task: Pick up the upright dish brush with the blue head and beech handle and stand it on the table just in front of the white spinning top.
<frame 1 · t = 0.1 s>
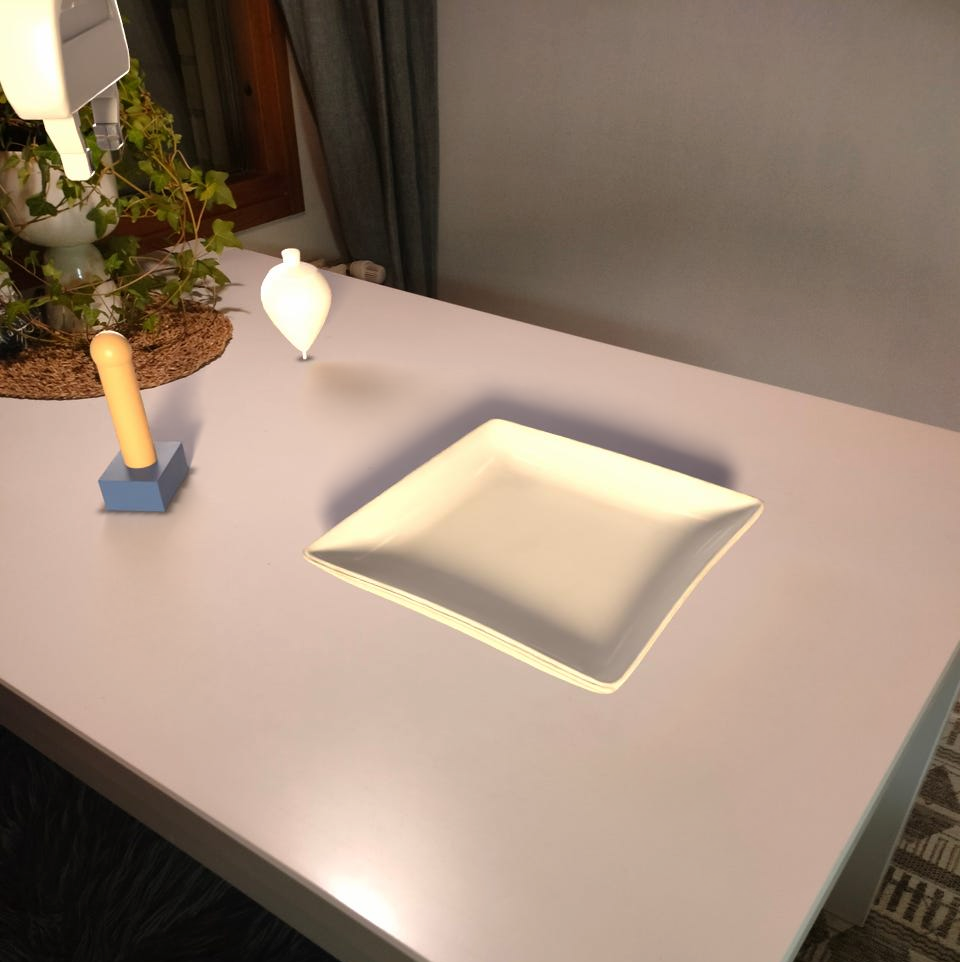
hand: (97, 162, 71), 26 cm above the table, tool pointing down, fingers open, 8 cm apart
spinning top: (305, 360, 105), on the table
square plate: (540, 563, 74), on the table
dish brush: (149, 489, 83), on the table
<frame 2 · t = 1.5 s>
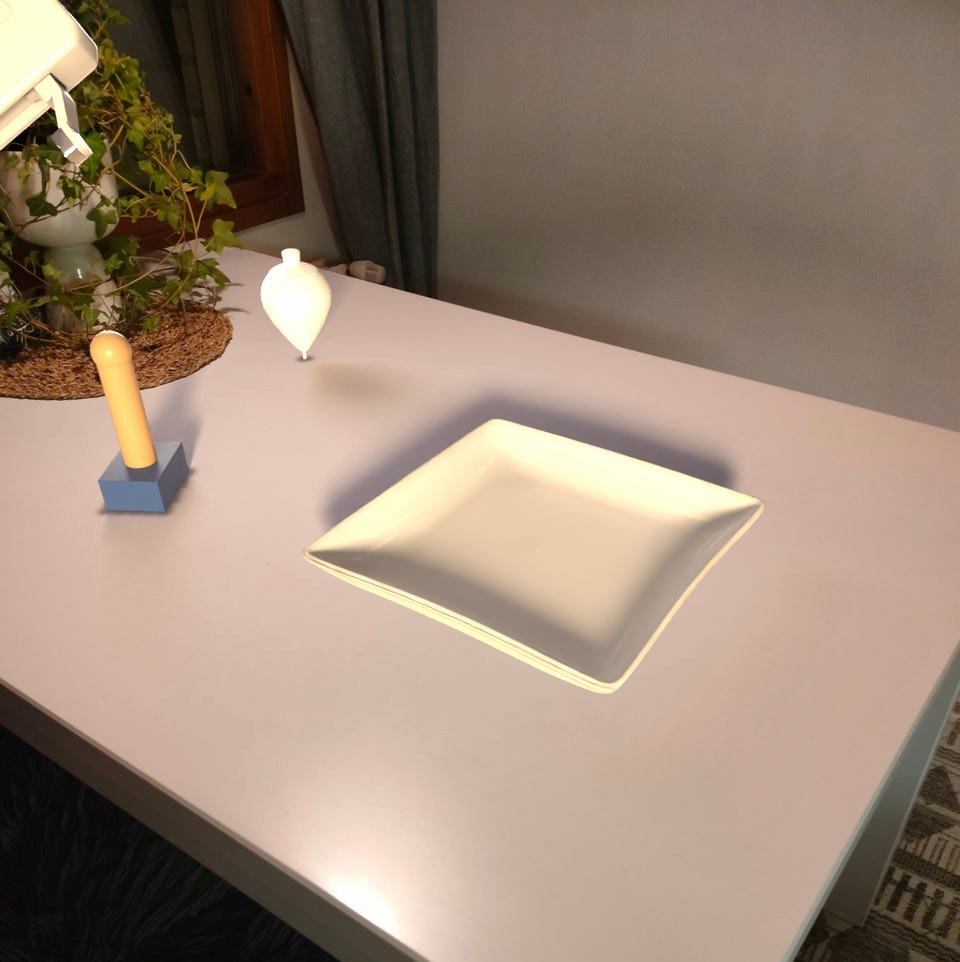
hand: (29, 201, 63), 26 cm above the table, tool tilted 50°, fingers open, 8 cm apart
nothing on the table moved.
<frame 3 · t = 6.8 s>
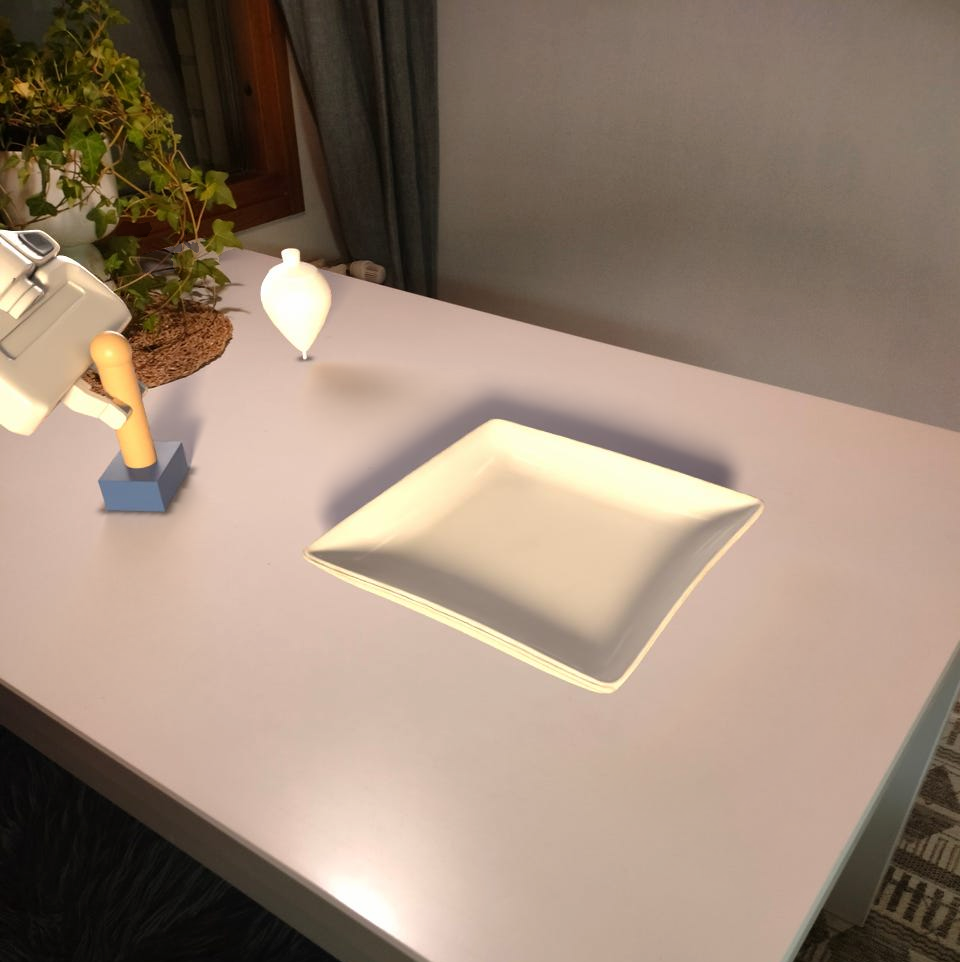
hand: (134, 409, 78), 8 cm above the table, tool tilted 45°, fingers closed on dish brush, 3 cm apart
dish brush: (149, 489, 83), on the table, touching gripper
everything else where it was.
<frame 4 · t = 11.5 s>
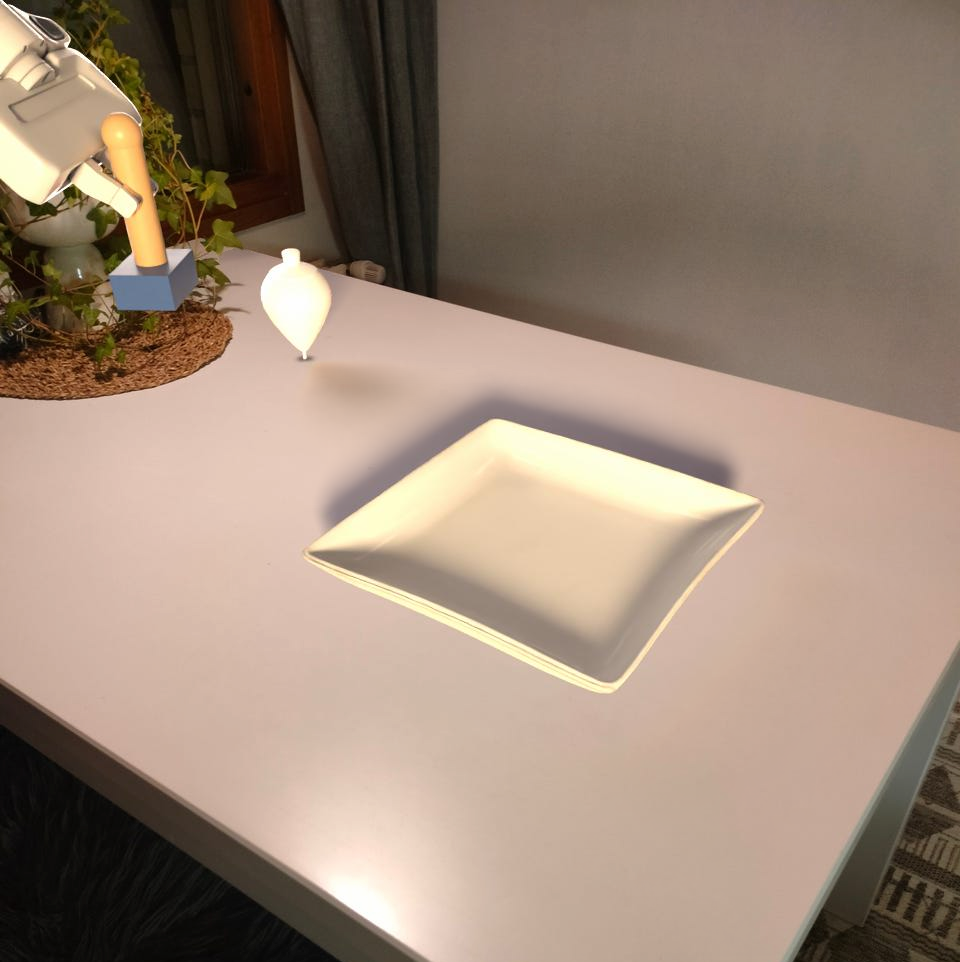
hand: (144, 203, 78), 21 cm above the table, tool tilted 45°, fingers closed on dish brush, 3 cm apart
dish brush: (159, 295, 83), point 14 cm above the table, touching gripper
everything else where it was.
when the fingers open (8 cm above the table, at t = 16.4 s): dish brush stays where it is, on the table.
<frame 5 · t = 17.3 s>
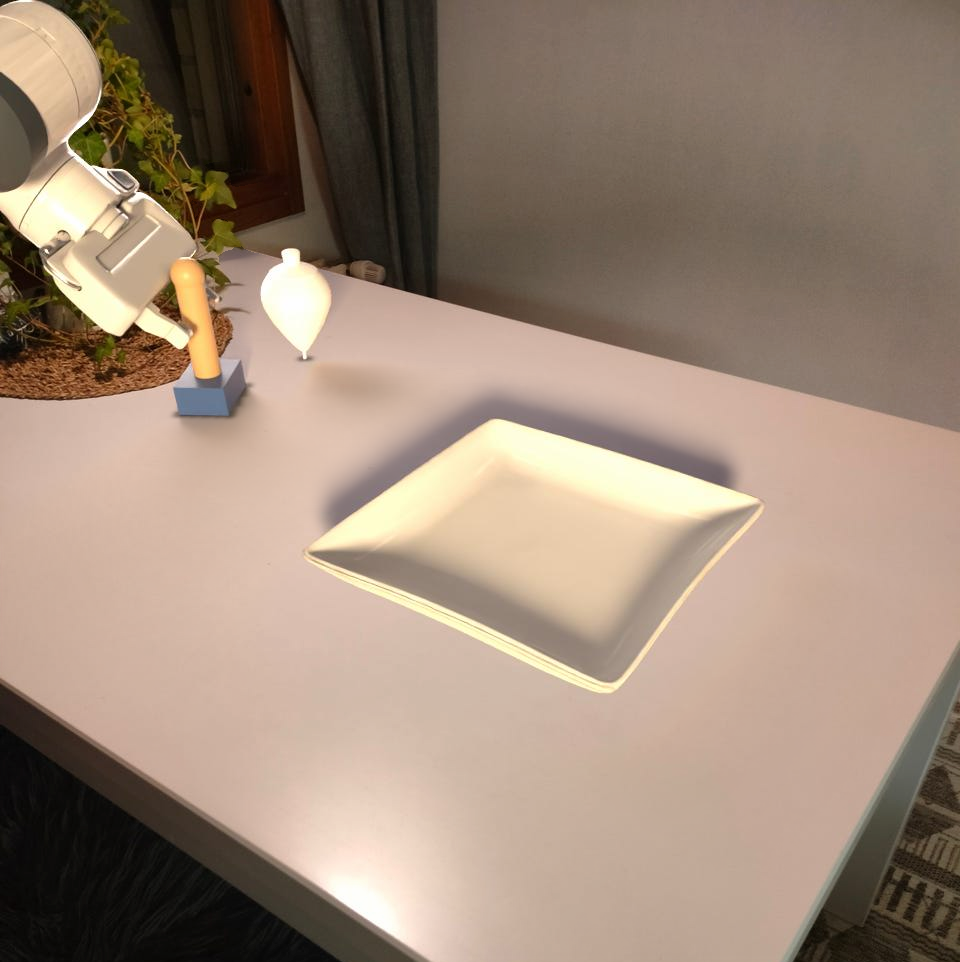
hand: (201, 323, 91), 8 cm above the table, tool tilted 45°, fingers open, 8 cm apart
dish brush: (213, 399, 97), on the table
everything else where it was.
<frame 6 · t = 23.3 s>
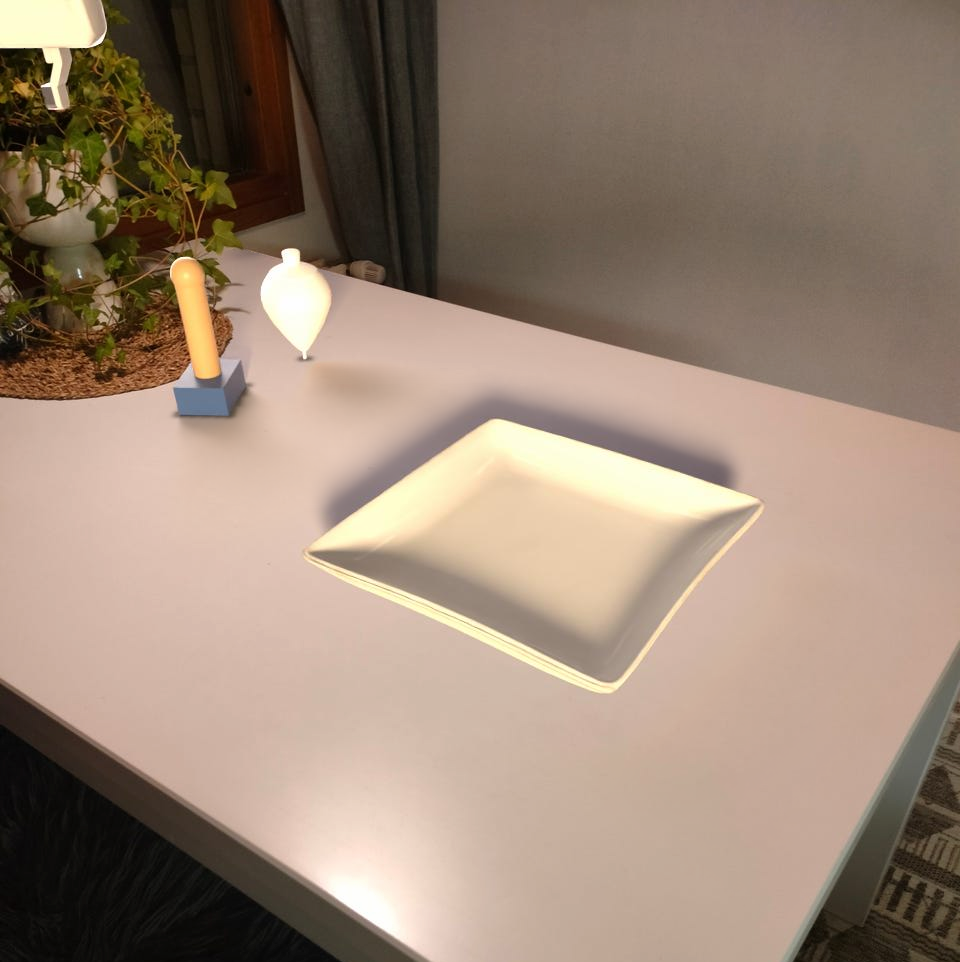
hand: (6, 108, 80), 27 cm above the table, tool pointing down, fingers open, 8 cm apart
nothing on the table moved.
at the end: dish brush inside the target area on the table beside the spinning top (0.1 cm from its centre), on the table; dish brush tilted 0°; the gripper is holding nothing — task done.
